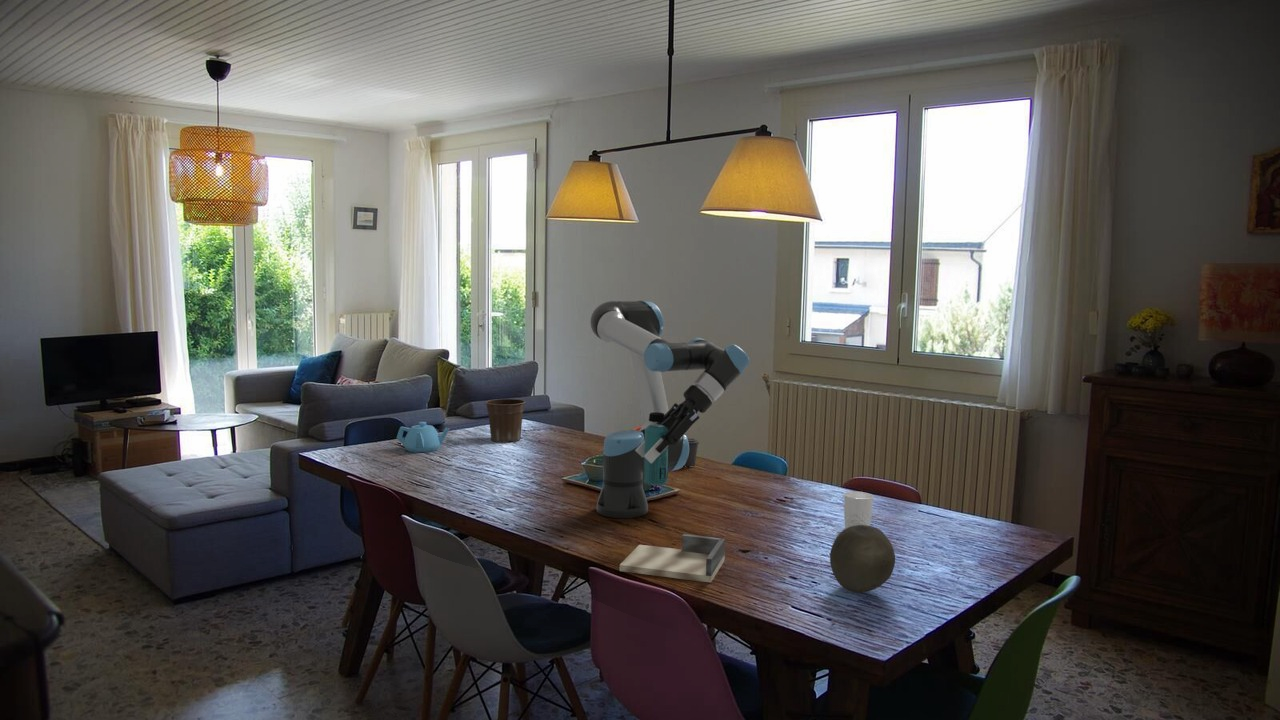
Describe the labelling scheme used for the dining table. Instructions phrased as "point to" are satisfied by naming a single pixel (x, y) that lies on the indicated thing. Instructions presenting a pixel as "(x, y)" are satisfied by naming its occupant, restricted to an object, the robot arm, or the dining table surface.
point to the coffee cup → (692, 452)
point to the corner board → (679, 559)
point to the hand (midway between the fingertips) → (643, 456)
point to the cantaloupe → (862, 558)
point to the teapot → (421, 438)
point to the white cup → (857, 508)
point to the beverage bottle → (659, 467)
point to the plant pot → (505, 419)
